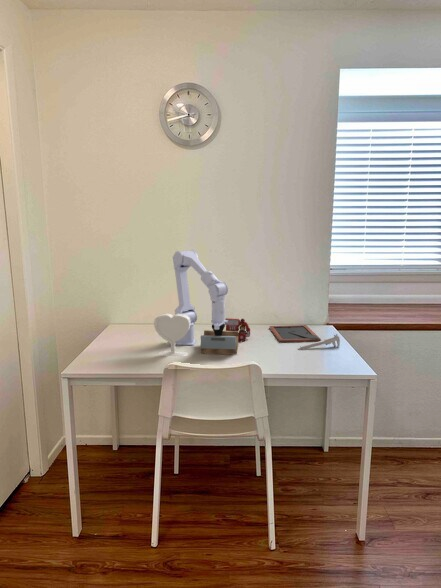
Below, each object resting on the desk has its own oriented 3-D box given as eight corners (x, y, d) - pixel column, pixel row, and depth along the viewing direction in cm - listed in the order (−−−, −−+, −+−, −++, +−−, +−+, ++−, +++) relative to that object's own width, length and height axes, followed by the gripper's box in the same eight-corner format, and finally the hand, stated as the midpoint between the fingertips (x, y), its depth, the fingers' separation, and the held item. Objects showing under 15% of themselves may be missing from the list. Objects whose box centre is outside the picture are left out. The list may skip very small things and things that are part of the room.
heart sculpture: (154, 355, 182) (153, 315, 178) (157, 351, 187) (156, 312, 183) (189, 356, 180) (188, 316, 177) (191, 352, 185) (190, 313, 181)
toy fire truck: (249, 341, 200) (249, 320, 198) (224, 340, 202) (224, 320, 200) (250, 337, 207) (250, 317, 205) (225, 336, 208) (225, 316, 206)
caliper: (338, 346, 193) (339, 333, 192) (339, 347, 192) (340, 334, 191) (297, 349, 189) (297, 336, 188) (298, 350, 188) (298, 337, 187)
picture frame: (320, 342, 200) (305, 328, 224) (320, 338, 199) (305, 324, 224) (279, 343, 198) (269, 329, 223) (279, 339, 198) (269, 325, 222)
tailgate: (201, 349, 182) (200, 337, 179) (201, 347, 183) (200, 335, 181) (235, 350, 180) (235, 338, 178) (235, 348, 182) (235, 336, 179)
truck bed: (200, 353, 184) (200, 338, 183) (204, 344, 196) (204, 330, 195) (236, 354, 183) (236, 339, 181) (238, 345, 194) (238, 331, 193)
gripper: (226, 315, 171) (226, 346, 174) (228, 306, 185) (228, 335, 188) (209, 314, 172) (209, 346, 175) (213, 306, 186) (213, 335, 189)
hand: (218, 340), depth 181 cm, fingers closed, pressing on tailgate
